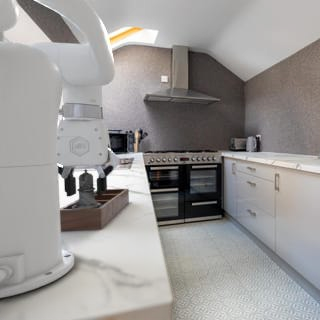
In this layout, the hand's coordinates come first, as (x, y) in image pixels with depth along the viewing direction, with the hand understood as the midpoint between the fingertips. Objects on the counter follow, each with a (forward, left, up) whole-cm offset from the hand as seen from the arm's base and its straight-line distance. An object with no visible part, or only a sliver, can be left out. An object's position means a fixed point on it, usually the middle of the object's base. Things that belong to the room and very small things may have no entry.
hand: (86, 194), depth 59 cm
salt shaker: (0, 0, -6) cm, 6 cm away
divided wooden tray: (+8, 0, -7) cm, 11 cm away
